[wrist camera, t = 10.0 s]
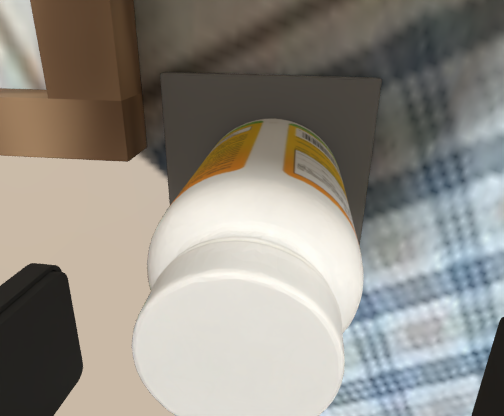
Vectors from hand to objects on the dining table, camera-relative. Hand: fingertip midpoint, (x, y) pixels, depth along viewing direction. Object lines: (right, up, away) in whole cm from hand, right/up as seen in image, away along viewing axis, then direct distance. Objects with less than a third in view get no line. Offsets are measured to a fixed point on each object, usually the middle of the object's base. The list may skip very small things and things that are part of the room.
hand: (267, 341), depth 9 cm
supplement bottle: (0, +4, +8) cm, 9 cm away
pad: (0, +4, +8) cm, 9 cm away
